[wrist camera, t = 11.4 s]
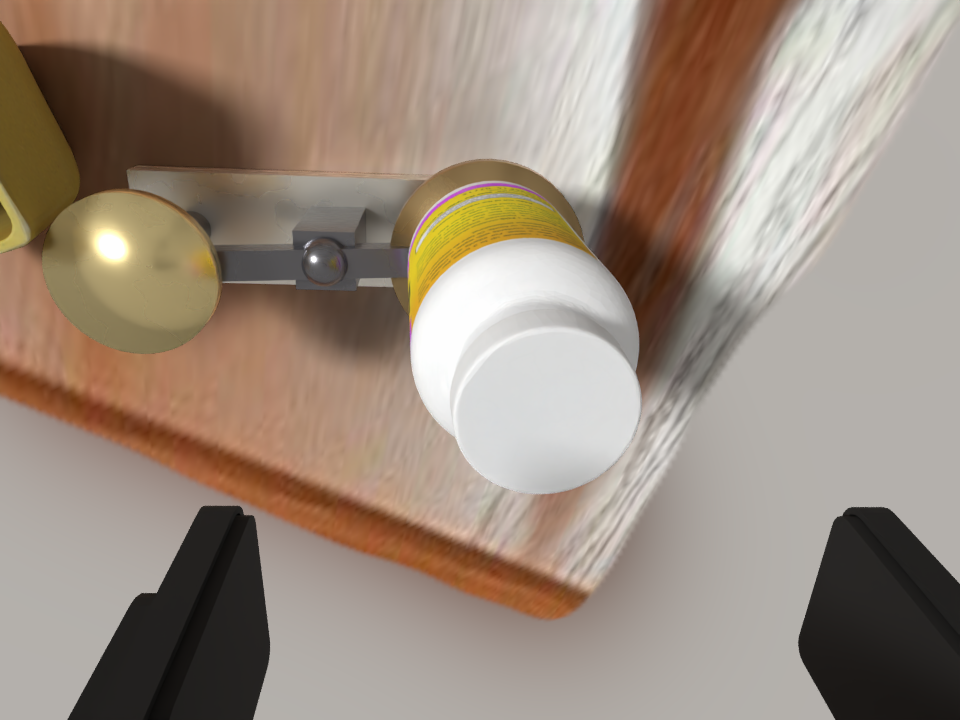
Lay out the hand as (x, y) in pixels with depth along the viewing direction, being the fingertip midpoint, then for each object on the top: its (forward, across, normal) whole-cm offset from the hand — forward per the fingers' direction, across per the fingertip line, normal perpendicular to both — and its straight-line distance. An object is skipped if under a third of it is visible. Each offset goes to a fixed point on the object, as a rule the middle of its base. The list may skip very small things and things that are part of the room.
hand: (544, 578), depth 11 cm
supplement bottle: (+19, 0, 0) cm, 19 cm away
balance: (+24, +6, +1) cm, 25 cm away
